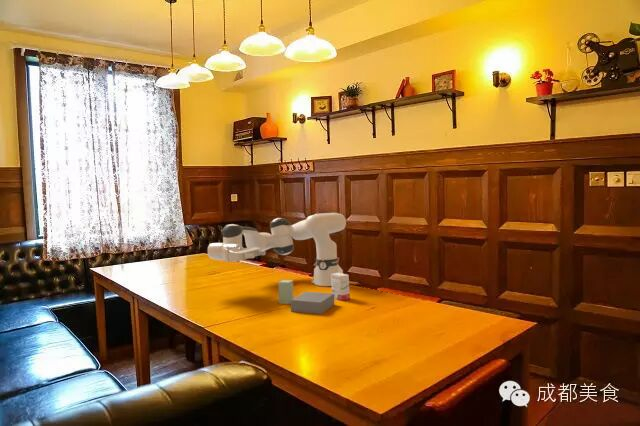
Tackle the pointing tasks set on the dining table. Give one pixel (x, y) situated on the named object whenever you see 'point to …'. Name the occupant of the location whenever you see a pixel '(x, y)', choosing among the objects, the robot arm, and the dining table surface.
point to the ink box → (340, 286)
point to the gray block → (312, 302)
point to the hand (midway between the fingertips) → (259, 254)
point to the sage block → (285, 291)
